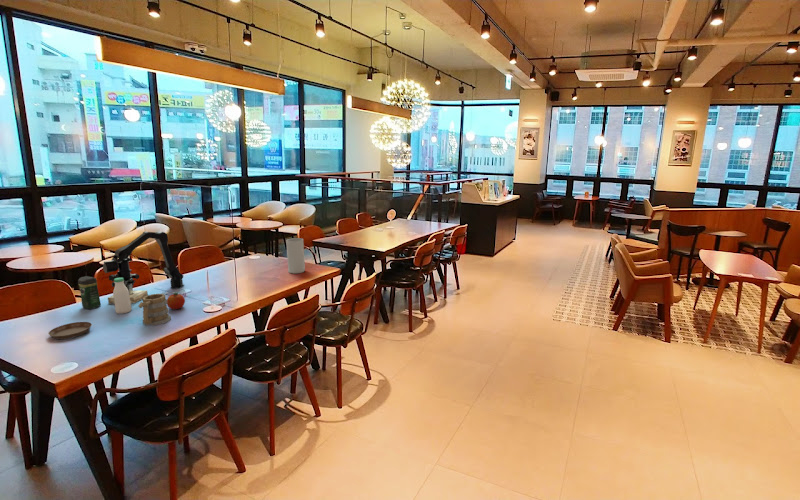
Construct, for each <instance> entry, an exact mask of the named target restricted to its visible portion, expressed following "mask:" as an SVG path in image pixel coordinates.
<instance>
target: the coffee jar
mask: <svg viewBox="0 0 800 500" xmlns="http://www.w3.org/2000/svg"><path fill="white" fill-rule="evenodd" d="M77 285H78V287H79V292H80V299H81V307H82V308H83V309H86V310H90V309H97V308H99V307H101V299H100V293H99V288H98V279H97V277H93V276H88V275H86V276H81V277H79V279H78V280H77Z"/></svg>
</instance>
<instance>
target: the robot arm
mask: <svg viewBox="0 0 800 500" xmlns="http://www.w3.org/2000/svg"><path fill="white" fill-rule="evenodd" d="M148 239H154V240H155V242H156V243H157V244H158V246H159V247H160V248H159V249H160V251H161V254H162V257H163V260H164V263H165V267H164V268H163V270H164V274H166V276H168V277H169V278H170V289H181V288H182V287H184V286H185V284H184V283H183V278H184V275H183V273H181V272H180V271H179V269H178V267H177V266H176V264H175V263H174V260H173V257H172V254H171V251H170V248H169V245H168V243H169V242H168V241H169V235H168V233H166V232H164V231H160V230H157V231H155V232H154V231H153V232H152V231H143V232H142V233H141V234H140V235H138V236H137V237H136V238H134V239H133V240H132V241H131V242H129V243H128V244H126V245H124V246H121V247H119V248H117V249H116V250H115V251H114V255H113V256H112V258H111V260H108V261H107V260H106V261H103V265H102V270H103V272H104V274H108V273H112V274H110V275H109V276H108V281H111V287H112V288H115V283H114V279H115V278H124V285H125V286H126V287H127V289H128V287H129V284H127V283H132V288H134V284H135V282H136V280H139V279H140V275H139V274H138V273H131V272H133V271H132V269H130V268H131V267H130V264H129V263H130V262H133V259H131V258H130V256H131V255H132V253H133V251H134V250H136V249H137V248H138V247H140V246H141V245H142V244H143V243H145V242H146V241H148ZM114 272H116V274H113V273H114ZM134 279H135V280H134Z"/></svg>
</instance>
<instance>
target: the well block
mask: <svg viewBox="0 0 800 500" xmlns="http://www.w3.org/2000/svg"><path fill="white" fill-rule="evenodd" d="M148 295H149V294H148V290H145V289H144V290H143V289H142V290H134V289H133V294H132V295H129V296H130V302H131V304H136V303H137V302H139V301H141V300H143V299H142V298H143V297H145V296H148ZM107 301H108V304H114V297H113V294H112V295H110V296H109V297H107Z"/></svg>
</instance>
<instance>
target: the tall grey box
mask: <svg viewBox="0 0 800 500" xmlns="http://www.w3.org/2000/svg"><path fill="white" fill-rule="evenodd" d="M127 284H129V287H128V291H129V295H132V294H133V291H134V289H133V288H134V287H132V283H127Z"/></svg>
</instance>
